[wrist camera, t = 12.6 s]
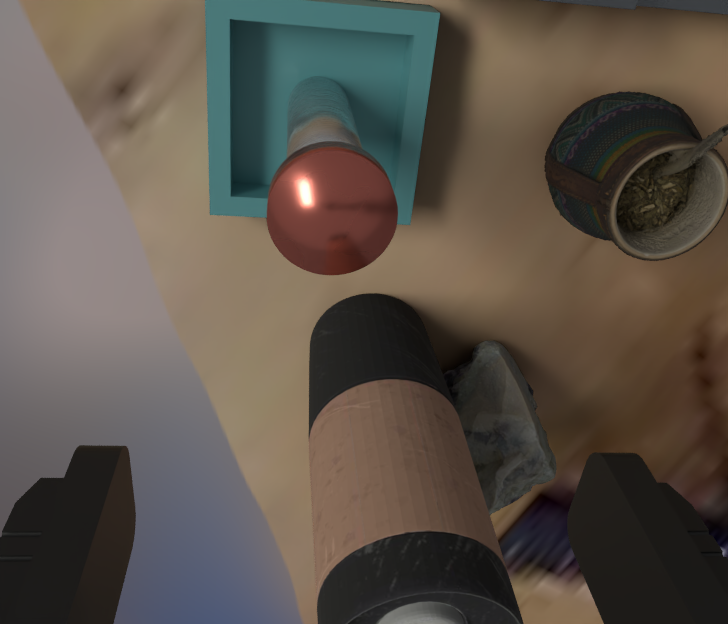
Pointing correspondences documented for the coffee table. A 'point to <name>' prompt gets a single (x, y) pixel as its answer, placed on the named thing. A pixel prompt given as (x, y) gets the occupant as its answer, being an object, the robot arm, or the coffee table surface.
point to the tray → (308, 59)
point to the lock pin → (328, 187)
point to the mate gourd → (637, 175)
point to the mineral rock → (500, 425)
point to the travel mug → (395, 479)
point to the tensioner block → (658, 4)
